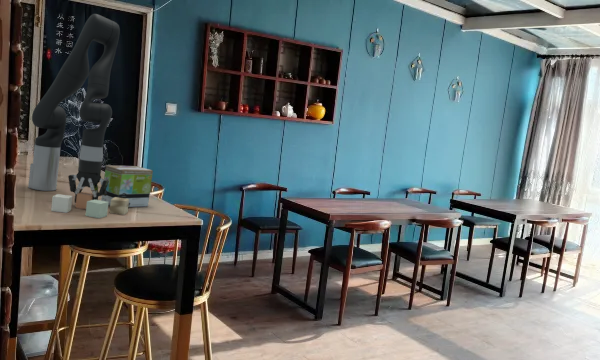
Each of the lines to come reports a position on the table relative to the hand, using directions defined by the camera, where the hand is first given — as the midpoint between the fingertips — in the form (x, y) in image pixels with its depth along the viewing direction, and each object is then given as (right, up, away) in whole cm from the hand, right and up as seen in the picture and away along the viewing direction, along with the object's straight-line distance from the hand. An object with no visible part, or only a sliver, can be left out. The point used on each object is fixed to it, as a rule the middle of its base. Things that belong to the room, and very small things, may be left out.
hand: (85, 205), depth 185 cm
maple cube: (+12, -3, 0) cm, 12 cm away
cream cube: (-4, -1, -10) cm, 11 cm away
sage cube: (+8, -3, -10) cm, 13 cm away
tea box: (+9, -1, +15) cm, 17 cm away
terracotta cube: (0, -1, 0) cm, 1 cm away
